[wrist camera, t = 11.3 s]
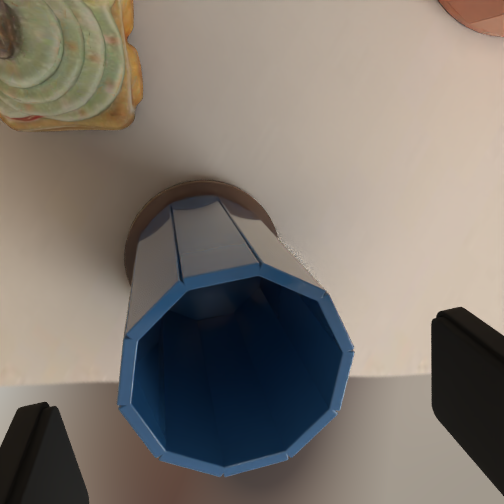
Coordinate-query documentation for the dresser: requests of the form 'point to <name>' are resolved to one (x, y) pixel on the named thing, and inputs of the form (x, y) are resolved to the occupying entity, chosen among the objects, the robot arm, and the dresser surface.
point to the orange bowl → (478, 14)
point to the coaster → (178, 194)
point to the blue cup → (227, 342)
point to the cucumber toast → (68, 65)
